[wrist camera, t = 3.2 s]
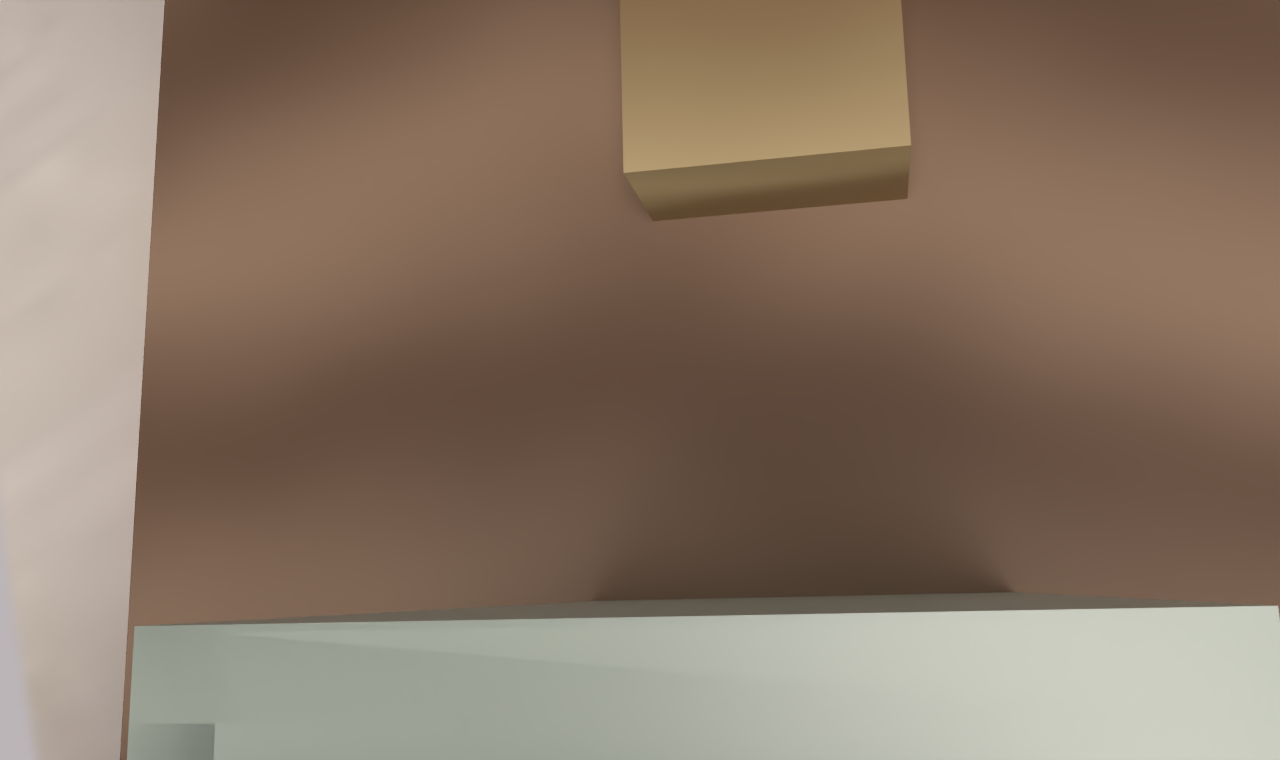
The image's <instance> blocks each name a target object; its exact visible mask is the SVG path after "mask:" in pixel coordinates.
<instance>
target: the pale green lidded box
mask: <svg viewBox="0 0 1280 760" xmlns="http://www.w3.org/2000/svg"><path fill="white" fill-rule="evenodd" d="M127 760H1280V617H1279V609H1278V606H1275V605H1256V604H1236V603H1217V602H1197V601H1178V600H1158V599H1139V598H1119V597H1100V596H1081V595H1061V594H1042V593H1022V592H995V593H947V594H900V595H852V596H804V597H756V598H709V599H661V600H613V601H582V602H564V603H546V604H527V605H509V606H491V607H473V608H455V609H437V610H418V611H400V612H382V613H364V614H346V615H328V616H309V617H291V618H273V619H255V620H237V621H219V622H200V623H182V624H164V625H146V626H135V627H134V644H133V661H132V678H131V696H130V713H129V730H128V747H127Z"/></svg>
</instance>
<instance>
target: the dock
mask: <svg viewBox="0 0 1280 760" xmlns="http://www.w3.org/2000/svg"><path fill="white" fill-rule="evenodd" d="M995 592H1022V593H1042V594H1061V595H1081V596H1100V597H1119V598H1139V599H1158V600H1178V601H1197V602H1217V603H1236V604H1256V605H1275V606H1278V609H1279V617H1280V0H165V7H164V24H163V41H162V58H161V75H160V92H159V109H158V126H157V143H156V160H155V176H154V193H153V210H152V227H151V244H150V261H149V278H148V295H147V312H146V329H145V346H144V363H143V380H142V397H141V414H140V430H139V447H138V464H137V481H136V498H135V515H134V532H133V549H132V566H131V583H130V600H129V617H128V634H127V651H126V668H125V684H124V701H123V718H122V735H121V752H120V760H127V747H128V730H129V713H130V696H131V678H132V661H133V644H134V627H135V626H146V625H164V624H182V623H200V622H219V621H237V620H255V619H273V618H291V617H309V616H328V615H346V614H364V613H382V612H400V611H418V610H437V609H455V608H473V607H491V606H509V605H527V604H546V603H564V602H582V601H613V600H661V599H709V598H756V597H804V596H852V595H900V594H947V593H995Z"/></svg>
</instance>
